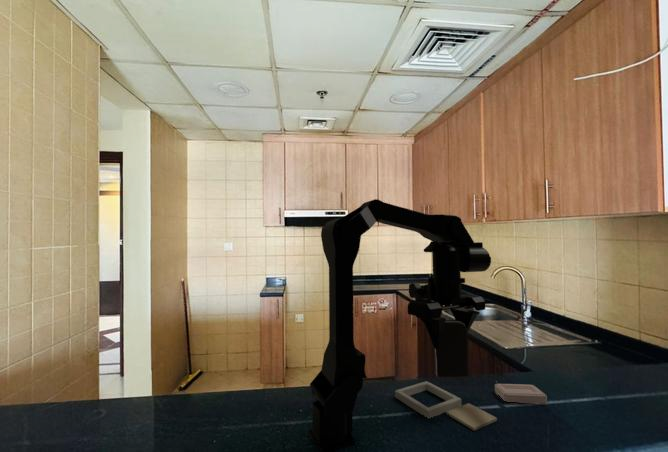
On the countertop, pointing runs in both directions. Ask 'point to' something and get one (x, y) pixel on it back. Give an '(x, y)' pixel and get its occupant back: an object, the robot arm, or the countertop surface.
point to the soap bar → (520, 393)
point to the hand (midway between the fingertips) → (448, 345)
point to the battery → (452, 351)
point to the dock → (428, 412)
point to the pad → (471, 416)
